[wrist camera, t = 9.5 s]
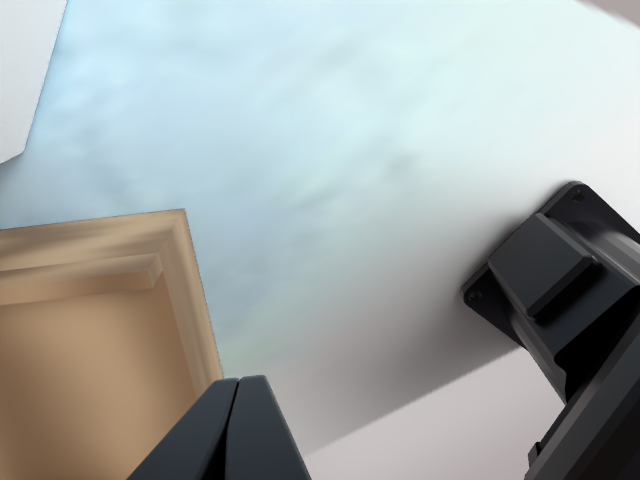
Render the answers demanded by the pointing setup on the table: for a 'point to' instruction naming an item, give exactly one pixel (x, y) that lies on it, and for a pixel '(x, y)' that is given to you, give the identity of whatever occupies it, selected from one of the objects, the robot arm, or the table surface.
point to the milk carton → (24, 65)
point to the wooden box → (98, 343)
